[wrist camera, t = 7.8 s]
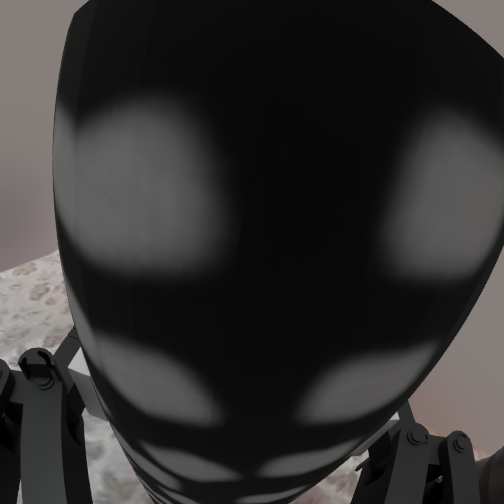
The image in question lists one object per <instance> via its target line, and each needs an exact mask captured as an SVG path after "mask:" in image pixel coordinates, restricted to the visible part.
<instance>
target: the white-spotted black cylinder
mask: <svg viewBox="0 0 504 504" xmlns="http://www.w3.org/2000/svg"><path fill="white" fill-rule="evenodd" d="M53 131H54V132H53V192H54V209H55V220H56V229H57V238H58V246H59V253H60V260H61V266H62V271H63V277H64V282H65V287H66V292H67V297H68V301H69V305H70V310H71V314H72V318H73V321H74V325H75V329H76V333H77V336H78V340H79V343H80V346H81V349H82V353H83V356H84V359H85V362H86V365H87V368H88V371H89V373H90V376H91V379H92V382H93V384H94V387H95V390H96V392H97V395H98V397H99V400H100V402H101V404H102V407H103V409H104V412H105V414H106V416H107V418H108V421H109V423H110V425H111V427H112V429H113V431H114V433H115V435H116V438H117V440H118V442H119V444H120V446H121V447H122V449H123V451H124V453H125V455H126V457H127V459H128V461H129V462H130V464H131V466H132V468H133V470H134V471H135V473H136V475H137V476H138V478H139V480H140V481H141V483H142V485H143V486H144V488H145V489H146V491H147V493H148V494H149V496H150V497H151V499H152V500H153V502H154V503H155V504H289V503H290V502H292V501H293V500H295V499H296V498H298V497H299V496H301V495H302V494H304V493H305V492H307V491H308V490H309V489H311V488H312V487H313V486H315V485H316V484H318V483H319V482H320V481H322V480H323V479H324V478H325V477H327V476H328V475H329V474H331V473H332V472H333V471H334V470H336V469H337V468H338V467H339V466H341V465H342V464H343V463H344V462H345V461H346V460H348V459H349V458H350V457H351V456H352V455H353V454H355V453H356V452H357V451H358V450H359V449H360V448H361V447H362V446H363V445H364V444H366V443H367V442H368V441H369V440H370V439H371V438H372V437H373V436H374V435H375V434H376V433H377V432H378V431H379V430H380V429H381V428H382V427H383V426H384V425H385V424H386V423H387V422H388V421H389V420H390V419H391V418H392V417H393V416H394V414H395V413H396V412H397V411H398V410H399V409H400V408H401V407H402V406H403V405H404V403H405V402H406V401H407V400H408V399H409V398H410V397H411V395H412V394H413V393H414V392H415V391H416V389H417V388H418V387H419V386H420V384H421V383H422V382H423V381H424V380H425V378H426V377H427V376H428V374H429V373H430V372H431V371H432V369H433V368H434V367H435V365H436V364H437V362H438V361H439V360H440V358H441V357H442V356H443V354H444V352H445V351H446V350H447V348H448V347H449V346H450V344H451V343H452V341H453V340H454V338H455V336H456V335H457V333H458V332H459V330H460V329H461V327H462V325H463V324H464V322H465V321H466V319H467V317H468V316H469V314H470V312H471V310H472V309H473V307H474V305H475V303H476V302H477V300H478V298H479V296H480V294H481V292H482V291H483V289H484V287H485V284H486V283H487V281H488V279H489V277H490V274H491V273H492V270H493V268H494V266H495V264H496V262H497V260H498V257H499V255H500V253H501V251H502V248H503V246H504V58H503V57H502V56H501V55H500V54H499V53H498V52H497V51H496V50H495V49H494V48H492V47H491V46H490V45H489V44H488V43H487V42H486V41H485V40H484V39H482V38H481V37H480V36H479V35H478V34H477V33H475V32H474V31H473V30H472V29H470V28H469V27H468V26H467V25H465V24H464V23H463V22H462V21H460V20H459V19H458V18H456V17H455V16H454V15H452V14H451V13H449V12H448V11H446V10H445V9H444V8H442V7H441V6H439V5H438V4H436V3H435V2H433V1H432V0H89V1H88V2H87V3H86V4H84V5H83V6H82V7H81V8H80V9H79V10H78V11H77V12H75V14H74V16H73V19H72V21H71V24H70V26H69V29H68V33H67V37H66V42H65V46H64V51H63V56H62V61H61V67H60V73H59V80H58V87H57V95H56V104H55V115H54V130H53Z"/></svg>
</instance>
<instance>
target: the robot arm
mask: <svg viewBox="0 0 504 504" xmlns="http://www.w3.org/2000/svg"><path fill="white" fill-rule="evenodd" d="M18 364H19V366H20V368H21V370H22V371H15V370H10V368H9V367H8V365H7V363H6V362H5V361H3V360H2V359H0V504H17V497H18V491H19V485H20V480H21V488H22V500H23V504H93V501H92V495H91V489H90V483H89V476H88V468H87V460H86V450H85V437H84V421H83V417H82V412H83V410H84V408H85V407H86V409H87V411H88V413H89V414H90V415H92V416H95V417H97V418H100V419H103V420H105V421H108V418H107V416H106V414H105V412H104V409H103V407H102V404H101V402H100V400H99V397H98V395H97V392H96V390H95V387H94V384H93V382H92V379H91V376H90V373H89V371H88V368H87V365H86V362H85V359H84V356H83V353H82V349H81V346H80V343H79V340H78V336H77V333H76V329H75V325H74V327H73V329H71V331H70V332H69V334H68V336H67V337H66V338H65V339H64V341H63V342H62V344H61V345H60V346H59V348H58V349H57V351H56V352H55V354H54V355H52V354H51V352H49V351H48V350H46V349H44V348H39V347H38V348H31V349H29V350H27V351H25V352H24V353H23V354H22V355H21V356H20V358H19V361H18ZM367 449H368V452H369V457H368V458H367V459H366V460H365V461H363V462H362V463H361V464H359V465H358V466H357V467H356V469H355V471H358V470H360V469H361V468H362V467H363V468H362V471H361V474H360V478H359V481H358V484H357V487H356V489H355V492H354V495H353V498H352V501H351V503H350V504H504V446H503V447H502V448H501V449H500V450H498V451H497V452H496V453H495V454H493V455H492V456H490V457H488V458H485V459H482V460H479V461H476V462H475V459H474V454H473V448H472V444H471V441H470V439H469V437H468V436H467V435H466V434H465V433H463V432H462V431H454V432H452V433H451V434H450V435H448V436H447V437H440V436H434V435H430V434H429V432H428V430H427V429H426V428H425V427H424V426H423V425H421V424H419V423H416V422H415V420H414V417H413V414H412V411H411V408H410V405H409V402H408V400H407V401H406V402H405V403H404V405H403V406H402V407H401V408H400V409H399V410H398V411H397V412H396V413H395V414H394V416H393V417H392V418H391V419H390V420H389V421H388V422H387V423H386V424H385V425H384V426H383V427H382V428H381V429H380V430H379V431H378V432H377V433H376V434H375V435H374V436H373V437H372V438H371V439H370V440H369V441H368V442H367V443H366V444H364V445H363V446H362V447H361V448H360V449H359V450H358V451H357V452H356V453H355V454H353V455H352V456H360V455H362V454H363V453H364V452H365V451H366V450H367ZM441 475H442V476H441ZM440 476H441V477H440Z"/></svg>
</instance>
